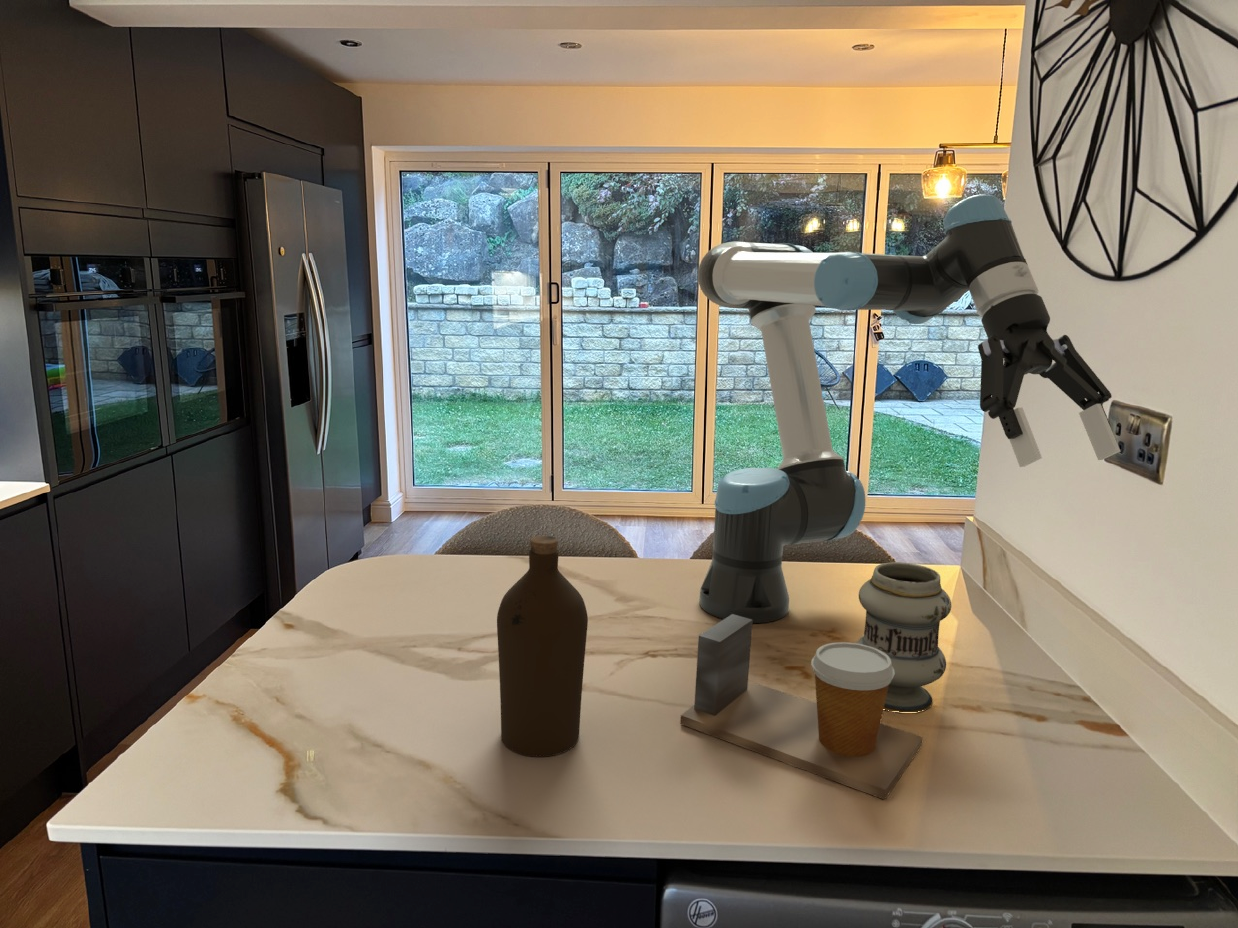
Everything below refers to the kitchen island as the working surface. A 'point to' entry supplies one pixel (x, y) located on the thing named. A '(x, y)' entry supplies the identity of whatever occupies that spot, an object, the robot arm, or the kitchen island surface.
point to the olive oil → (541, 656)
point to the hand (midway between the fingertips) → (1071, 459)
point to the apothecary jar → (906, 629)
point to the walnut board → (781, 717)
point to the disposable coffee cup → (850, 695)
